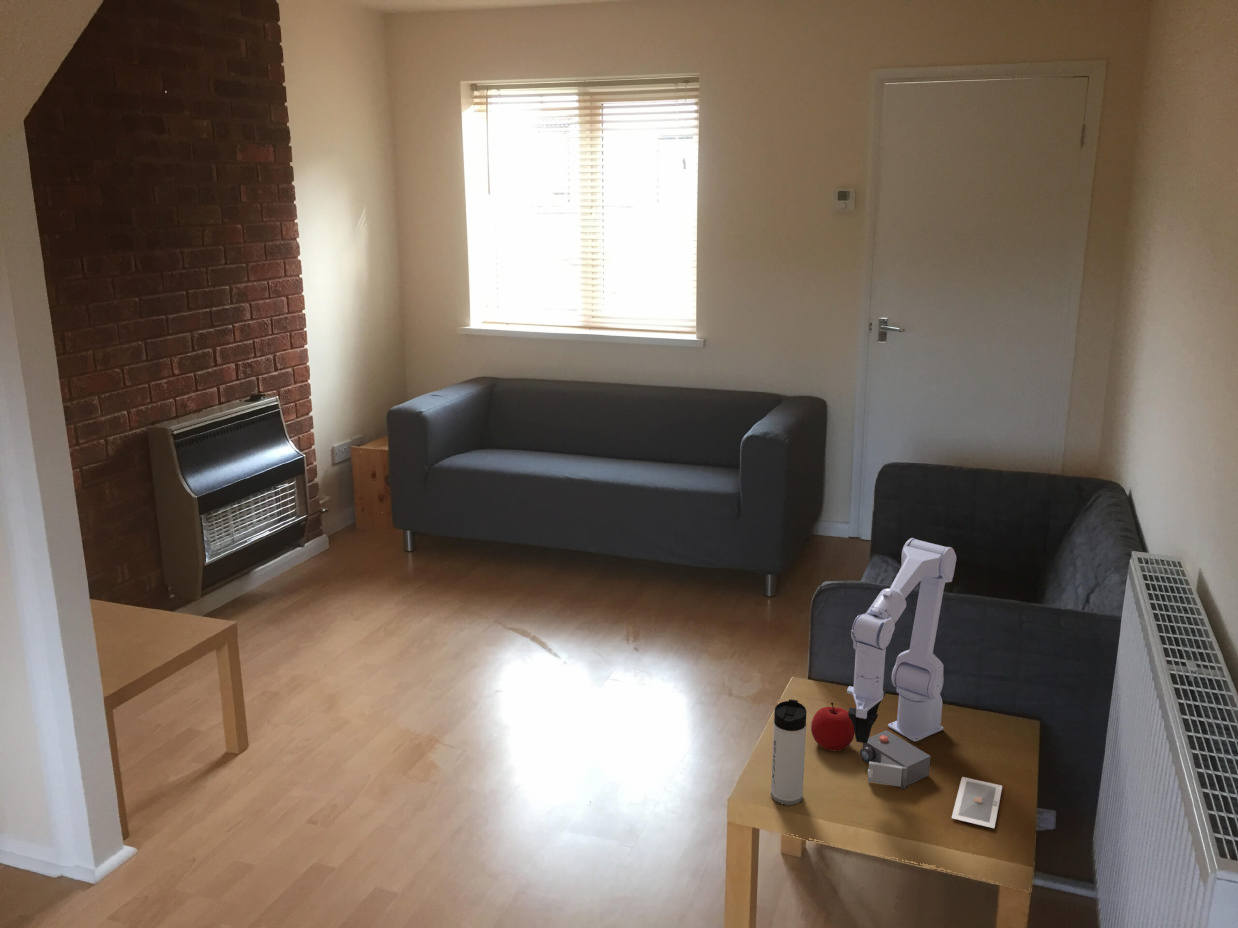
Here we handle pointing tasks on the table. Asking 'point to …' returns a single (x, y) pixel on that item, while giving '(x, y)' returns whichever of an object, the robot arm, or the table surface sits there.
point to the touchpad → (977, 802)
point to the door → (887, 774)
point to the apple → (832, 728)
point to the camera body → (896, 755)
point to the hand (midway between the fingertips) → (865, 732)
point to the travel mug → (788, 752)
